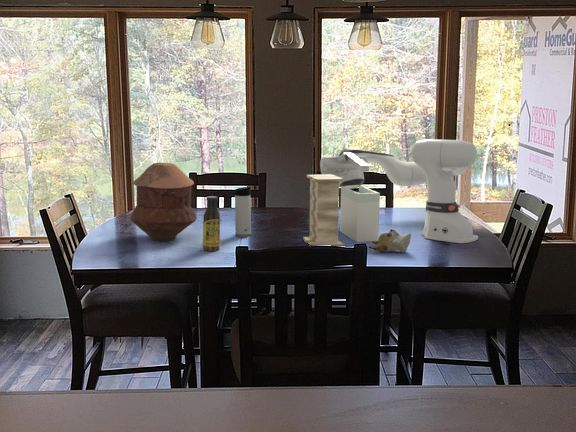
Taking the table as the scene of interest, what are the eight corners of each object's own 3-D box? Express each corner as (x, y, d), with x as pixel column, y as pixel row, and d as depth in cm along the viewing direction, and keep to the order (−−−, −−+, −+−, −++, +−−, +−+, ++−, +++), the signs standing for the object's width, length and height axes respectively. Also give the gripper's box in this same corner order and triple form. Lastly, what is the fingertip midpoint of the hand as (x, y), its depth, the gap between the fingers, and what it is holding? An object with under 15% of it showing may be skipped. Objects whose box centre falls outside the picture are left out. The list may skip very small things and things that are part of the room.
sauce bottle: (205, 252, 236) (204, 198, 232) (200, 248, 242) (199, 196, 238) (222, 250, 239) (222, 197, 235) (217, 247, 244) (216, 194, 240)
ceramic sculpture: (409, 232, 230) (367, 232, 234) (409, 256, 232) (368, 255, 236) (412, 226, 240) (371, 226, 244) (412, 249, 242) (372, 249, 246)
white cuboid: (340, 231, 272) (341, 186, 268) (360, 230, 274) (361, 185, 271) (356, 242, 253) (358, 193, 249) (378, 240, 255) (379, 193, 252)
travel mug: (249, 237, 260) (249, 188, 256) (233, 236, 261) (232, 187, 257) (253, 234, 266) (253, 185, 262) (237, 233, 267) (237, 185, 263)
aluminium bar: (343, 157, 272) (343, 152, 271) (349, 157, 273) (350, 152, 272) (361, 171, 252) (362, 165, 251) (368, 171, 253) (369, 165, 252)
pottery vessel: (126, 234, 265) (123, 160, 260) (188, 229, 275) (186, 158, 269) (137, 248, 242) (133, 168, 236) (203, 242, 251) (202, 165, 245)
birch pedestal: (302, 239, 256) (303, 174, 251) (331, 238, 259) (332, 173, 254) (314, 249, 241) (315, 180, 236) (345, 247, 244) (346, 179, 239)
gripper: (363, 174, 283) (374, 161, 271) (318, 175, 278) (327, 162, 265) (360, 161, 285) (371, 147, 273) (316, 162, 280) (325, 148, 267)
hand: (349, 155), depth 269 cm, fingers closed on aluminium bar, 3 cm apart
